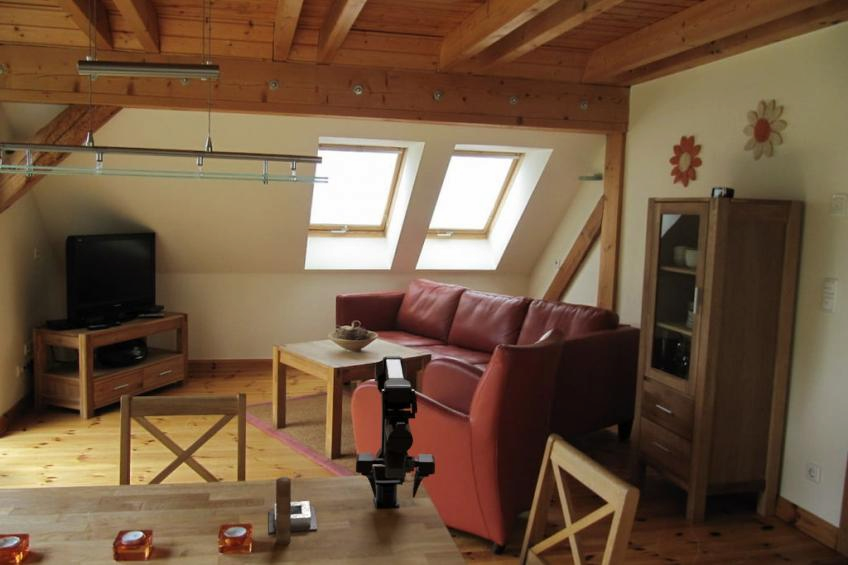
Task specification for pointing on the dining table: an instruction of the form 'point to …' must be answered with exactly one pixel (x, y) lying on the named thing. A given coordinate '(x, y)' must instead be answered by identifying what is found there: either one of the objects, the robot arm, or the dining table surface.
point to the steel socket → (296, 518)
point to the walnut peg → (283, 510)
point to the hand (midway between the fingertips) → (394, 496)
